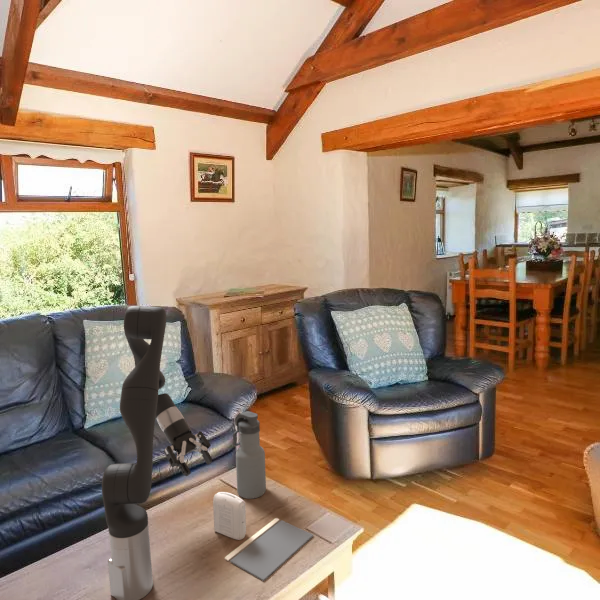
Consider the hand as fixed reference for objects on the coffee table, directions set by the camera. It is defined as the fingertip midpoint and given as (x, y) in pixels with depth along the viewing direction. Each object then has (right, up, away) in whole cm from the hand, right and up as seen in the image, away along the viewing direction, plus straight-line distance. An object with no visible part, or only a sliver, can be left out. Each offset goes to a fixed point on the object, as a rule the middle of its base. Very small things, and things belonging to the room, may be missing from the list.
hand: (199, 468), depth 147 cm
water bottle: (+14, -14, +17) cm, 26 cm away
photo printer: (+10, -18, -5) cm, 21 cm away
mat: (+22, -18, -11) cm, 31 cm away
